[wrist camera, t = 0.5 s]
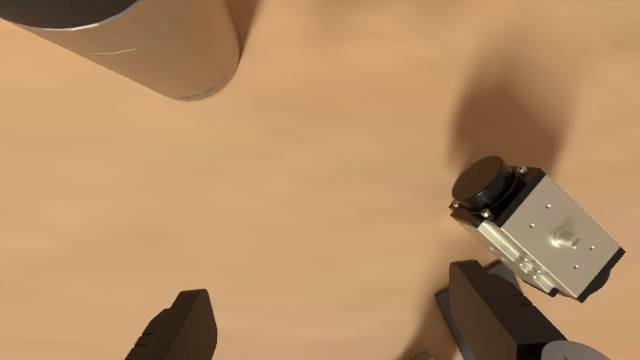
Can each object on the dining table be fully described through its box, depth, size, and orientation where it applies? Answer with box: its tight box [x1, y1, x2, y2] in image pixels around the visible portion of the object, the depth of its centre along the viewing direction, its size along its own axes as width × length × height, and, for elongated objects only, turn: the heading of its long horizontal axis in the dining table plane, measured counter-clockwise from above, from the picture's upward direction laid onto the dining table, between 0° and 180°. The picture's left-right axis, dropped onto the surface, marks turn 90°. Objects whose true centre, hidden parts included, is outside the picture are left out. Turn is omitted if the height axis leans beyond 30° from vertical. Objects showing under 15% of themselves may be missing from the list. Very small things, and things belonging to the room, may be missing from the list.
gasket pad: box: [435, 261, 519, 360], centre depth 34 cm, size 8×8×1 cm
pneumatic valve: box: [449, 156, 625, 303], centre depth 27 cm, size 6×12×12 cm, turn 49°
